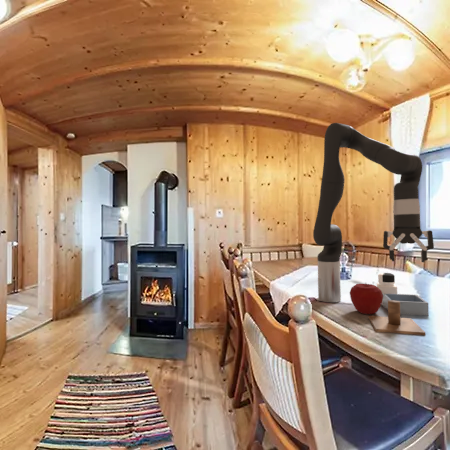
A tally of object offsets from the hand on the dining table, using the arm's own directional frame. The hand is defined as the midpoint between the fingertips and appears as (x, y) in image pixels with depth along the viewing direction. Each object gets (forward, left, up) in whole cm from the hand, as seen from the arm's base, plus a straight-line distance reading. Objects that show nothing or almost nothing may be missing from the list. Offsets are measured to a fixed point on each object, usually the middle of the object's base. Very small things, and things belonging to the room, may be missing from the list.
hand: (407, 261), depth 98 cm
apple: (-12, +7, -21) cm, 25 cm away
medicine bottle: (-1, +26, -21) cm, 33 cm away
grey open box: (+2, +13, -20) cm, 24 cm away
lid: (-6, -7, -20) cm, 22 cm away
